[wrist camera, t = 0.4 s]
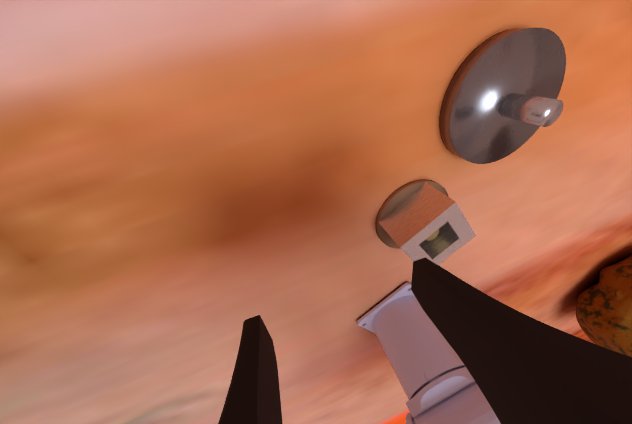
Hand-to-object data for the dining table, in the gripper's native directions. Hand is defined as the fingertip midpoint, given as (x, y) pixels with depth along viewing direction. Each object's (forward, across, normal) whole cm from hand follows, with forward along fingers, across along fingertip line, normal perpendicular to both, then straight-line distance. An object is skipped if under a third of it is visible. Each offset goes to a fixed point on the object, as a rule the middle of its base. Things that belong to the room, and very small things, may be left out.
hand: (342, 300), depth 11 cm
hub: (+10, -16, -4) cm, 19 cm away
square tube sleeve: (+9, -10, +5) cm, 15 cm away
